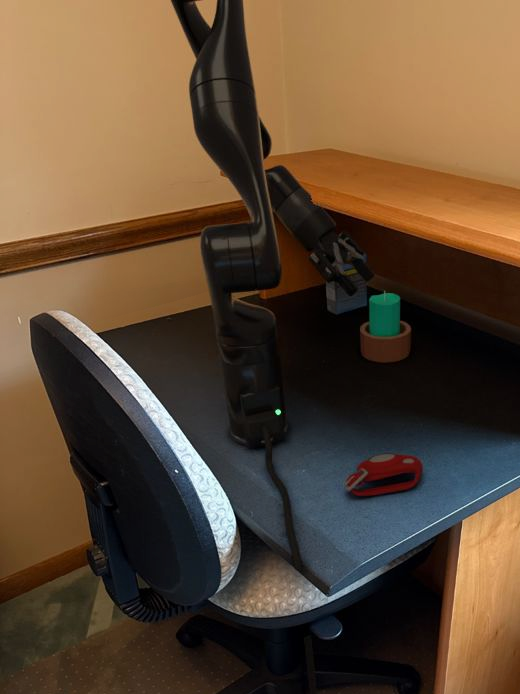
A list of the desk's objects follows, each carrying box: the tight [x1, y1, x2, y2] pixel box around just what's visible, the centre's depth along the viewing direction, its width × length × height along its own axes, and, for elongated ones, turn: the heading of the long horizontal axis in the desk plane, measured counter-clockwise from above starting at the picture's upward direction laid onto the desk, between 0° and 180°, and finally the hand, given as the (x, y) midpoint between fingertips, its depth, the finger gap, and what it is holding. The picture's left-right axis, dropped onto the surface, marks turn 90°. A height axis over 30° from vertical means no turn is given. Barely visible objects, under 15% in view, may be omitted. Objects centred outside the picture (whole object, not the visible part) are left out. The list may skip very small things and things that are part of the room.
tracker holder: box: [343, 452, 424, 497], centre depth 97 cm, size 12×4×10 cm
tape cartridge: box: [325, 252, 368, 316], centre depth 151 cm, size 9×4×12 cm, turn 126°
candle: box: [368, 290, 401, 337], centre depth 131 cm, size 6×6×12 cm
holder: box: [359, 320, 412, 363], centre depth 133 cm, size 10×10×5 cm
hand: (363, 285), depth 129 cm, fingers open, 8 cm apart
